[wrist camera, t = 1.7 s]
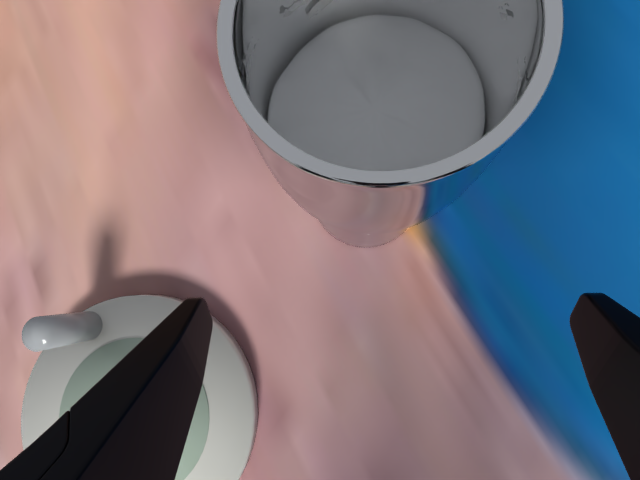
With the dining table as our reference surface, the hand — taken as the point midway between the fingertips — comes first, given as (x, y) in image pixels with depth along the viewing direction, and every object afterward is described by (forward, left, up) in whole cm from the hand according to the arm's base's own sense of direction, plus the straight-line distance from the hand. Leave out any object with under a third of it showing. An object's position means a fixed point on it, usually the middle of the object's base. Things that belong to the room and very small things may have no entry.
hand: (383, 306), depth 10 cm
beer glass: (+5, -3, -12) cm, 14 cm away
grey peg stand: (+1, +14, -12) cm, 19 cm away
